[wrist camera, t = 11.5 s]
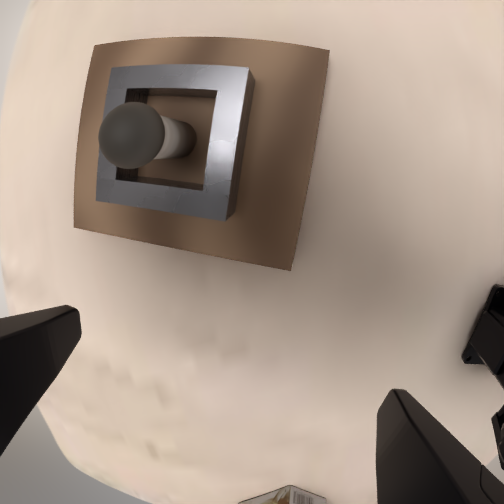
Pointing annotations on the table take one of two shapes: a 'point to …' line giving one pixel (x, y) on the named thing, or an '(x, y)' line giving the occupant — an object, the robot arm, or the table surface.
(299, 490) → the coffee box
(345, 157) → the table surface
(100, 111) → the square knob plate
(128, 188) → the metal link
